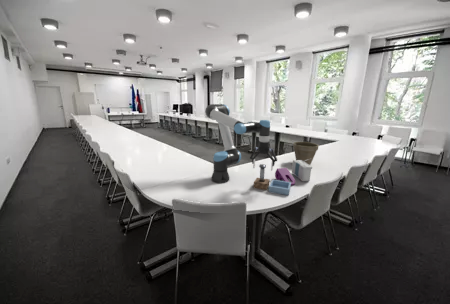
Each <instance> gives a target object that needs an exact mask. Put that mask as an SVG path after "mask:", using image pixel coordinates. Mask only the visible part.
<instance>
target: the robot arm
mask: <svg viewBox="0 0 450 304" xmlns="http://www.w3.org/2000/svg"><path fill="white" fill-rule="evenodd" d="M204 113H205V115H206V118H208V119H210V120H212V121H215V122H216V123H217V125H218V128H219V131H220V135H221V139H222V144H223V148H224V149H223V150H221V151H217V152H215V153H214V154H213V157H212V159H213V171H212V175H211V181H212V182H213V183H218V184H224V183H228V182H229V181H230V174H229V171H228V167H230V166H233V165H236V164H238V163H239V162H240V161H241V160H242V153H241V152H240V151H239V150H238V149H237V147H236V146H235V144H234V141H233V137H232V132H231V129H232V130H233V131H234V132H235V134H236V135H243V134H250V133H259V136H258V147H257V146H254V148H253V151H252V153H251V155H250V156H249V159H250V160H251V163H252V166H253V167H252V168H253V169H255V168H256V158H257V157H258V156H259V155H260V154H261V155H267V156H268V157H269V160H271V162H270V163H271V165H270V171H273V170H274V167H275V162H278V158H277V155H276V154H275V152H274V148H270V140H271V139H270V138H271V134H270V131H271V121H270V119H260V120H259V122H258V121H257V122H255V121H248V122H242V121H241V120H238V119H236V118H234V117H232V116H230V113H231V111H230V108H229V106H228V105H227V104H222V103H219V104H215V103H213V104H212V103H211V104H209V105H207V106H206V108H205V112H204ZM257 151H258V152H257ZM256 152H257V153H256ZM270 152H271V153H270ZM271 154H272V155H271Z"/></svg>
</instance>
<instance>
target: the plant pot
mask: <svg viewBox="0 0 450 304" xmlns="http://www.w3.org/2000/svg"><path fill="white" fill-rule="evenodd" d="M319 146H320V145H319V144H317V143H314V142H309V141H308V142H307V141H295V142H293V146H292V148H293V149H294V150H293V151H294V156H295V157H294V158H295V160H302V161H304V162H305V163H307V164H308V165H310V166H311V164H312V162H313V160H314V158H315V155H316V153H317V151H318V150H319ZM308 159H309V160H308ZM305 160H307V161H305Z"/></svg>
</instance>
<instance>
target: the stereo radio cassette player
mask: <svg viewBox="0 0 450 304" xmlns="http://www.w3.org/2000/svg"><path fill="white" fill-rule="evenodd" d="M308 160H309V159H308ZM305 161H307V160H305ZM291 164H292V165H291V173H292V175H294V176H295V177H297V178H298V179H299V180H301V182H309V181H311V174H312V173H311V171H312V169H313V166H312V165H311V164H310V165H308V164H307V163H305V162H304V161H302V160H296V159H294V160H292V163H291Z"/></svg>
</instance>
